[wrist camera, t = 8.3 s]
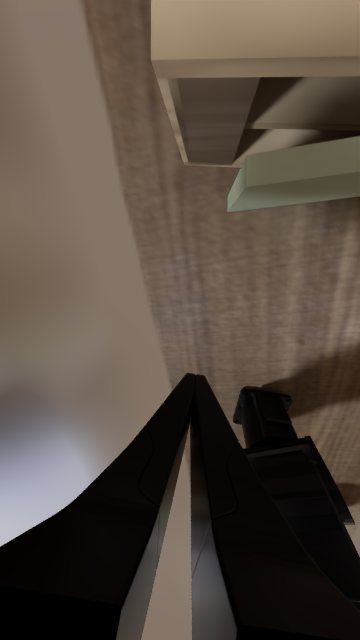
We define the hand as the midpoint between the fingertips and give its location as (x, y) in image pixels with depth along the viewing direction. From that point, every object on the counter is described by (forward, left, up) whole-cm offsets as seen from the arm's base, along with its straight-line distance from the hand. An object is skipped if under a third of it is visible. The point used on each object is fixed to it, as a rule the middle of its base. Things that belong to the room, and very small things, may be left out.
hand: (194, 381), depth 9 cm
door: (+10, -7, -13) cm, 18 cm away
